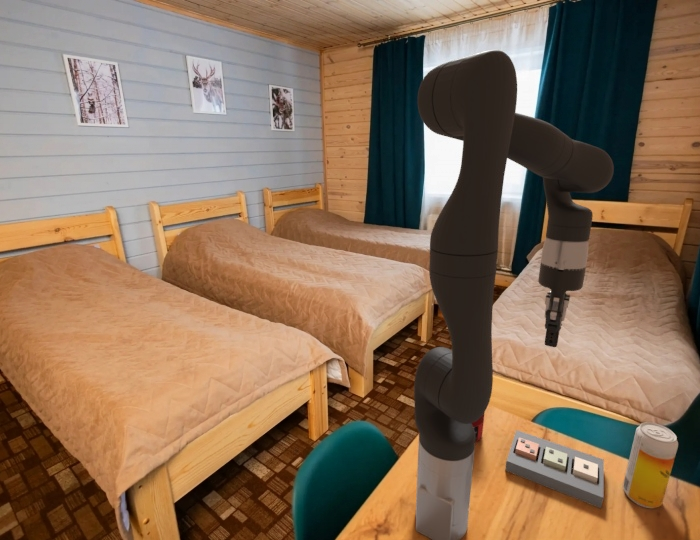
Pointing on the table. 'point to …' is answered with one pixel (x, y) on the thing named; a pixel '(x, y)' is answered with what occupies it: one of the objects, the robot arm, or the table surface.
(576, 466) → the tile one cream
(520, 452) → the tile three terracotta
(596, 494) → the slate board
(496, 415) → the table surface
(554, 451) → the tile two sage
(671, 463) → the beer can
